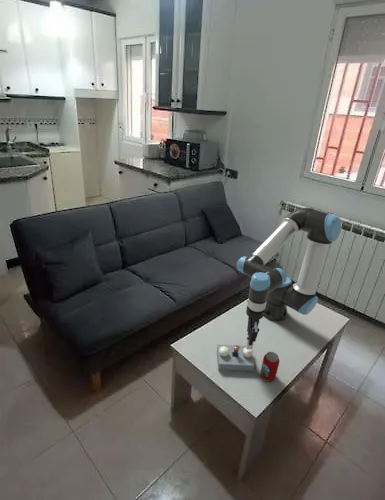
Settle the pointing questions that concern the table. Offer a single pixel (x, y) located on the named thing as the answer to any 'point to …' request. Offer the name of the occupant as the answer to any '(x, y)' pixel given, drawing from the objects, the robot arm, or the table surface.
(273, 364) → the beverage can
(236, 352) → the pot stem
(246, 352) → the knob
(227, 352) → the knob
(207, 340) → the table surface
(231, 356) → the mount
